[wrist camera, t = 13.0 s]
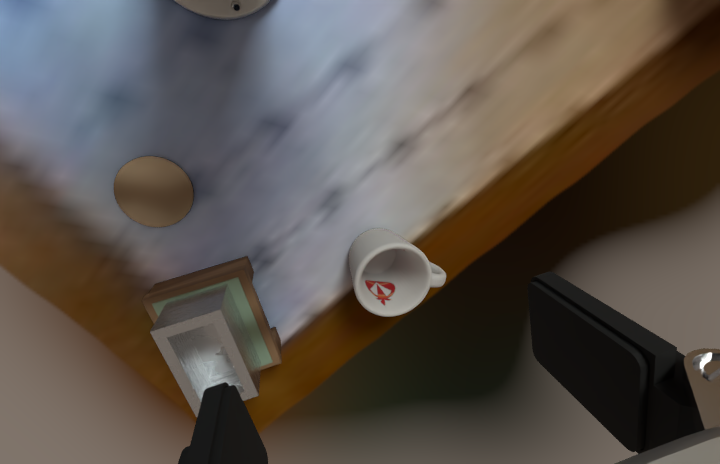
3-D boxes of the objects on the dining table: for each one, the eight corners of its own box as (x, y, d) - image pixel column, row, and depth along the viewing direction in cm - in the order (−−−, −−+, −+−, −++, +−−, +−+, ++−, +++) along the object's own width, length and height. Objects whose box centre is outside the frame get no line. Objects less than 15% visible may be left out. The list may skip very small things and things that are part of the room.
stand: (154, 282, 39) (140, 301, 35) (246, 254, 40) (243, 270, 36) (198, 369, 44) (190, 395, 40) (281, 341, 45) (281, 364, 41)
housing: (166, 302, 36) (149, 332, 31) (227, 283, 37) (220, 309, 32) (205, 380, 40) (196, 417, 35) (260, 362, 40) (258, 395, 36)
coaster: (101, 167, 35) (99, 168, 34) (176, 147, 36) (175, 148, 35) (135, 234, 37) (134, 235, 37) (204, 214, 38) (203, 215, 38)
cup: (435, 228, 44) (467, 253, 37) (418, 288, 46) (445, 322, 39) (348, 214, 41) (364, 238, 34) (335, 279, 44) (347, 314, 36)
